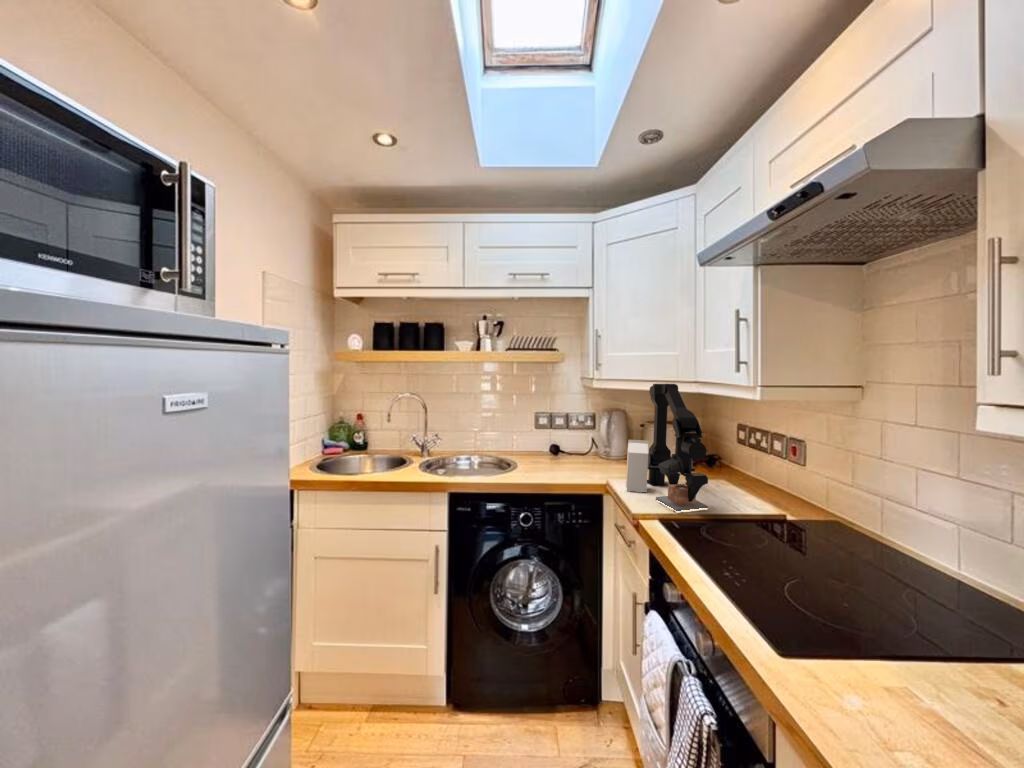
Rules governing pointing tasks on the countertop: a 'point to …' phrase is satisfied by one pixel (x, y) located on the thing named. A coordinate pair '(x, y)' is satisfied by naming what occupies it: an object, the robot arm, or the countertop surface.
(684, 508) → the key base
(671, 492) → the collar
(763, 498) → the countertop surface
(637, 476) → the milk carton
